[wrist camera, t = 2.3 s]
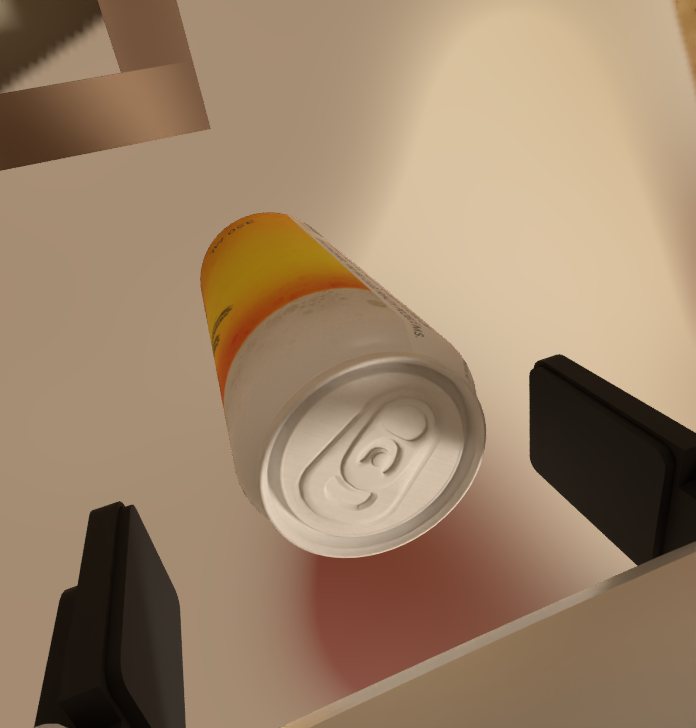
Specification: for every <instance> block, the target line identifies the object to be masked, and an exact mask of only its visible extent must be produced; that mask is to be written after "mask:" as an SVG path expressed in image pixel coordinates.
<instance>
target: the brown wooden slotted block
mask: <svg viewBox="0 0 696 728" xmlns="http://www.w3.org/2000/svg"><path fill="white" fill-rule="evenodd" d="M98 3H99V6H100V10H101V13H102V16H103V19H104V22H105V25H106V28H107V31H108V34H109V37H110V40H111V43H112V46H113V49H114V52H115V55H116V58H117V61H118V64H119V68H120V71H121V73H118V74H112V75H107V76H101V77H95V78H90V79H84V80H78V81H72V82H67V83H61V84H55V85H49V86H43V87H38V88H31V89H26V90H20V91H14V92H8V93H3V94H0V171H1V170H6V169H11V168H16V167H21V166H26V165H31V164H36V163H41V162H46V161H51V160H56V159H61V158H66V157H71V156H76V155H81V154H86V153H91V152H97V151H102V150H107V149H112V148H117V147H122V146H127V145H132V144H137V143H142V142H147V141H151V140H157V139H162V138H167V137H172V136H177V135H182V134H187V133H192V132H197V131H202V130H207V129H210V125H209V121H208V117H207V114H206V110H205V106H204V102H203V98H202V95H201V91H200V87H199V83H198V80H197V76H196V72H195V68H194V65H193V61H192V57H191V54H190V50H189V46H188V42H187V38H186V35H185V31H184V28H183V24H182V20H181V16H180V12H179V9H178V5H177V1H176V0H98Z"/></svg>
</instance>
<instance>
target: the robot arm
mask: <svg viewBox="0 0 696 728" xmlns="http://www.w3.org/2000/svg"><path fill="white" fill-rule="evenodd" d="M529 383H530V384H529V387H530V388H529V389H530V460H531V463H532V465H533V467H534V469H535V470H536V471H537V472H538V473H539V474H540V475H541V476H542V477H543V478H544V479H545V480H546V481H547V482H548V483H549V484H550V485H552V486H553V487H554V488H555V489H556V490H557V491H558V492H559V493H560V494H561V495H562V496H563V497H564V498H565V499H567V500H568V501H569V502H570V503H571V504H572V505H573V506H574V507H575V508H576V509H577V510H578V511H579V512H580V513H582V514H583V515H584V516H585V517H586V518H587V519H588V520H589V521H590V522H591V523H592V524H593V525H595V526H596V527H597V528H598V529H599V530H600V531H601V532H602V533H603V534H604V535H605V536H606V537H607V538H608V539H609V540H610V541H612V542H613V543H614V544H615V545H616V546H617V547H618V548H619V549H620V550H621V551H622V552H623V553H624V554H626V555H627V556H628V557H629V558H630V559H631V560H632V561H633V562H634V563H635V564H636V565H638V566H637V567H634V568H632V569H630V570H628V571H626V572H623V573H621V574H618V575H616V576H614V577H612V578H610V579H607V580H605V581H603V582H600V583H598V584H596V585H594V586H591V587H589V588H587V589H585V590H583V591H580V592H578V593H576V594H573V595H571V596H569V597H566V598H564V599H562V600H560V601H557V602H555V603H553V604H551V605H548V606H546V607H544V608H542V609H540V610H537V611H535V612H533V613H531V614H528V615H526V616H524V617H522V618H520V619H517V620H515V621H513V622H510V623H508V624H506V625H504V626H502V627H499V628H497V629H495V630H493V631H490V632H488V633H486V634H484V635H482V636H479V637H477V638H475V639H473V640H470V641H468V642H466V643H464V644H462V645H459V646H457V647H455V648H453V649H451V650H448V651H446V652H444V653H442V654H439V655H437V656H435V657H433V658H431V659H428V660H426V661H424V662H422V663H419V664H417V665H415V666H413V667H411V668H408V669H406V670H404V671H402V672H400V673H398V674H395V675H393V676H391V677H389V678H387V679H384V680H382V681H380V682H378V683H376V684H373V685H371V686H369V687H367V688H365V689H362V690H360V691H358V692H356V693H354V694H351V695H349V696H347V697H345V698H343V699H340V700H338V701H336V702H334V703H332V704H329V705H327V706H325V707H323V708H321V709H318V710H316V711H314V712H312V713H310V714H308V715H306V716H304V717H301V718H300V719H297V720H295V721H293V722H291V723H289V724H287V725H285V726H283V727H280V728H696V433H695V432H693V431H691V430H690V429H688V428H686V427H685V426H683V425H681V424H679V423H678V422H676V421H674V420H672V419H671V418H669V417H667V416H666V415H664V414H662V413H661V412H659V411H657V410H655V409H654V408H652V407H650V406H649V405H647V404H645V403H644V402H642V401H640V400H638V399H637V398H635V397H633V396H631V395H630V394H628V393H626V392H625V391H623V390H621V389H620V388H618V387H616V386H615V385H613V384H611V383H609V382H607V381H606V380H604V379H603V378H601V377H599V376H597V375H596V374H594V373H592V372H591V371H589V370H587V369H585V368H584V367H582V366H580V365H579V364H577V363H575V362H573V361H572V360H570V359H568V358H567V357H565V356H563V355H560V354H559V355H554V356H552V357H549V358H546V359H542V360H539V361H537V362H536V363H535V365H534V369H532V370H531V372H530V376H529ZM183 683H184V682H183V661H182V641H181V619H180V605H179V600H178V596H177V593H176V591H175V588H174V586H173V584H172V582H171V580H170V578H169V576H168V574H167V572H166V570H165V568H164V566H163V564H162V561H161V559H160V557H159V555H158V553H157V551H156V549H155V547H154V545H153V543H152V541H151V539H150V537H149V534H148V533H147V530H146V528H145V526H144V524H143V522H142V520H141V518H140V516H139V514H138V512H137V510H136V508H135V506H134V505H129V506H126V507H125V506H124V504H123V503H122V502H120V501H119V502H116V503H113V504H110V505H107V506H104V507H101V508H98V509H95V510H92V511H91V512H90V515H89V521H88V527H87V533H86V538H85V544H84V550H83V556H82V562H81V568H80V574H79V580H78V586H75V587H72V588H70V589H67V590H65V591H64V592H63V593H62V595H61V598H60V601H59V606H58V611H57V616H56V621H55V626H54V631H53V636H52V641H51V646H50V651H49V656H48V661H47V666H46V671H45V676H44V680H43V685H42V690H41V696H40V701H39V705H38V711H37V716H36V721H35V726H34V728H186V725H185V703H184V684H183Z"/></svg>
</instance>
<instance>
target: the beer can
mask: <svg viewBox="0 0 696 728" xmlns="http://www.w3.org/2000/svg"><path fill="white" fill-rule="evenodd" d="M200 280H201V291H202V296H203V302H204V307H205V312H206V317H207V322H208V328H209V333H210V339H211V344H212V349H213V354H214V360H215V365H216V371H217V375H218V381H219V387H220V392H221V397H222V403H223V407H224V413H225V418H226V424H227V429H228V434H229V440H230V445H231V450H232V456H233V461H234V466H235V471H236V475H237V478H238V481H239V484H240V486H241V488H242V489H243V492H244V494H245V495H246V497H247V498H248V499H249V501H250V502H251V504H252V505H253V506H254V507H255V508H256V509H257V510H258V511H259V512H260V513H261V514H262V515H263V516H265V517H266V518H267V519H269V520H270V521H271V523H272V524H273V526H274V527H275V528H276V530H277V531H278V532H279V533H280V534H281V535H282V536H283V537H285V538H286V539H287V540H288V541H290V542H291V543H293V544H294V545H296V546H298V547H300V548H301V549H304V550H306V551H309V552H311V553H315V554H318V555H322V556H328V557H337V558H353V557H363V556H370V555H374V554H379V553H382V552H385V551H389V550H391V549H394V548H397V547H399V546H401V545H404V544H406V543H408V542H410V541H412V540H413V539H416V538H417V537H419V536H420V535H422V534H424V533H425V532H427V531H428V530H430V529H431V528H432V527H434V526H435V525H436V524H437V523H439V522H440V521H441V520H442V519H443V518H444V517H446V516H447V515H448V514H449V512H450V511H452V509H453V508H454V507H455V506H456V505H457V504H458V502H459V501H460V500H461V499H462V498H463V496H464V495H465V493H466V492H467V490H468V489H469V487H470V486H471V484H472V482H473V480H474V478H475V476H476V474H477V472H478V469H479V467H480V464H481V460H482V458H483V453H484V449H485V441H486V424H485V418H484V414H483V410H482V407H481V404H480V402H479V400H478V398H477V396H476V390H475V384H474V381H473V378H472V375H471V372H470V370H469V368H468V366H467V364H466V362H465V361H464V359H463V358H462V356H461V355H460V353H459V352H458V351H457V350H456V349H455V348H454V347H453V346H452V344H451V343H449V342H448V341H447V340H446V339H445V338H443V337H442V336H441V335H440V334H439V333H437V332H436V331H435V330H434V329H433V328H431V327H430V326H429V325H428V324H427V323H425V322H424V321H423V320H422V319H421V318H420V317H418V316H417V315H416V314H415V313H414V312H412V311H411V310H410V309H409V308H408V307H406V306H405V305H404V304H403V303H402V302H400V301H399V300H398V299H397V298H395V297H394V296H393V295H392V294H391V293H389V292H388V291H387V290H386V289H385V288H384V287H382V286H381V285H380V284H379V283H378V282H376V281H375V280H374V279H373V278H372V277H370V276H369V275H368V274H367V273H366V272H364V271H363V270H362V269H361V268H360V267H358V266H357V265H356V264H355V263H353V262H352V261H351V260H350V259H348V257H346V256H345V255H344V254H343V253H342V252H340V251H339V250H338V249H337V248H336V247H335V246H333V245H332V244H331V243H330V242H328V241H327V240H326V239H325V238H324V237H323V236H321V235H320V234H319V233H318V232H317V231H315V230H314V229H313V228H312V227H310V226H309V225H308V224H306V223H305V222H303V221H301V220H299V219H297V218H295V217H292V216H289V215H286V214H280V213H258V214H253V215H250V216H246V217H244V218H241V219H239V220H237V221H235V222H234V223H232V224H230V225H229V226H228V227H226V228H225V229H224V230H223V231H222V232H221V233H220V234H219V235H218V236H217V237H216V238H215V239H214V241H213V242H212V244H211V245H210V247H209V248H208V251H207V253H206V255H205V257H204V261H203V264H202V269H201V279H200Z"/></svg>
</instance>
